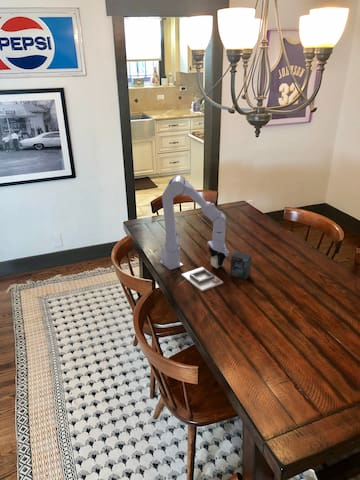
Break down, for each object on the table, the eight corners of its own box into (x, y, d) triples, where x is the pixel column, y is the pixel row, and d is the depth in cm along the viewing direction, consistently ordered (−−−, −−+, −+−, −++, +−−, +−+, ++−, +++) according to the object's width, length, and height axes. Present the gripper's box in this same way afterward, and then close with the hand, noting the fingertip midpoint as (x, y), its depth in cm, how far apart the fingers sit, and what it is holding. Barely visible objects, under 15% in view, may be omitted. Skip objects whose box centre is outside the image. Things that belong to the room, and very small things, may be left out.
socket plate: (181, 275, 172) (181, 271, 171) (202, 268, 178) (202, 264, 177) (201, 291, 160) (202, 286, 159) (223, 283, 166) (223, 278, 165)
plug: (210, 266, 180) (211, 257, 178) (218, 263, 182) (219, 254, 180) (215, 270, 177) (216, 260, 175) (223, 267, 179) (224, 257, 177)
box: (229, 275, 172) (231, 256, 167) (234, 270, 176) (235, 250, 172) (245, 280, 169) (247, 260, 164) (250, 274, 173) (252, 254, 168)
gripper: (235, 241, 169) (233, 267, 175) (215, 230, 180) (214, 255, 186) (223, 245, 166) (222, 271, 172) (204, 234, 177) (203, 259, 183)
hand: (217, 263), depth 179 cm, fingers closed on plug, 4 cm apart
